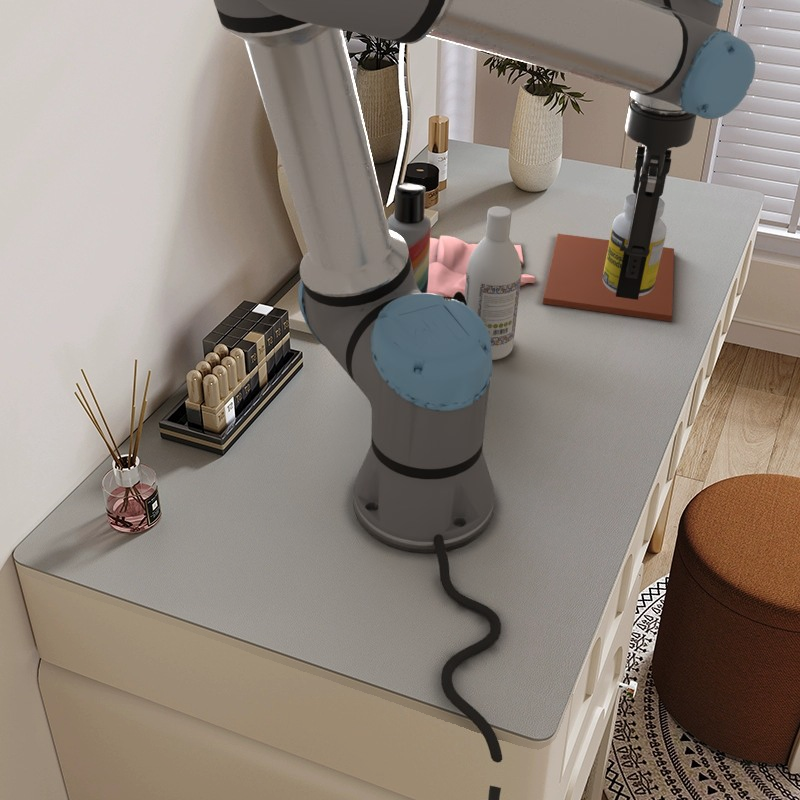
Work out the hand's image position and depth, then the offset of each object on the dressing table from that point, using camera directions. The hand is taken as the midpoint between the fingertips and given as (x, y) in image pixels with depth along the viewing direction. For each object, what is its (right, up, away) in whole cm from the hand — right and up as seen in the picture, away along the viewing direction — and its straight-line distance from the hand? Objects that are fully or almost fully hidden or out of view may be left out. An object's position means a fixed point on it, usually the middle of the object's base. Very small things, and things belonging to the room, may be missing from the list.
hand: (628, 282), depth 129 cm
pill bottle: (0, -1, 0) cm, 1 cm away
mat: (+3, +3, +24) cm, 24 cm away
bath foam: (-17, -8, +8) cm, 21 cm away
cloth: (-18, +5, +25) cm, 31 cm away
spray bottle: (-28, -4, +13) cm, 31 cm away
